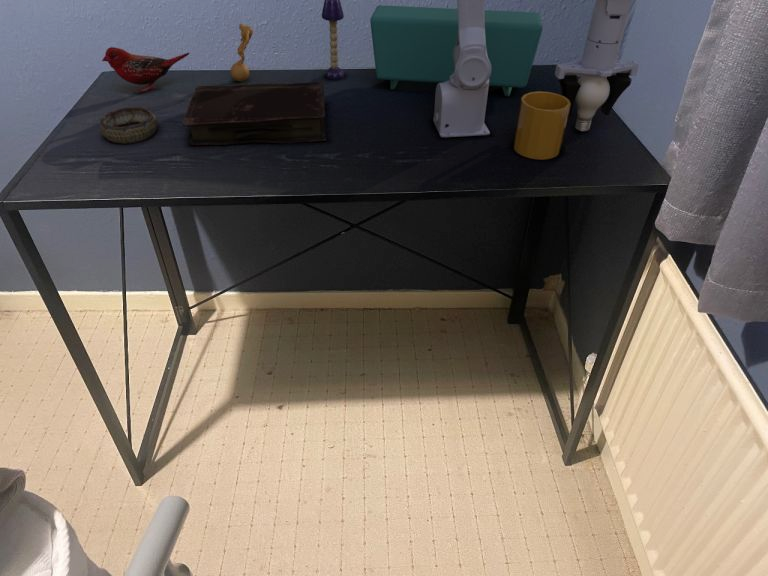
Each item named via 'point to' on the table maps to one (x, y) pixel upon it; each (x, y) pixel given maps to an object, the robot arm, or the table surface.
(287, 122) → the diary
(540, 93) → the mug
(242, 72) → the figurine
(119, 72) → the decorative bird figurine
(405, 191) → the table surface
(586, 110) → the lightbulb
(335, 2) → the toy lamp
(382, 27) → the radio
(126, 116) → the decorative ring
